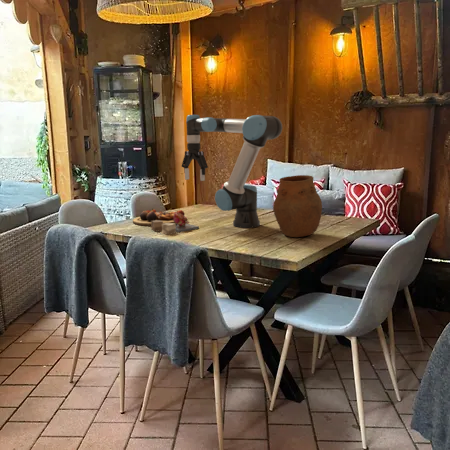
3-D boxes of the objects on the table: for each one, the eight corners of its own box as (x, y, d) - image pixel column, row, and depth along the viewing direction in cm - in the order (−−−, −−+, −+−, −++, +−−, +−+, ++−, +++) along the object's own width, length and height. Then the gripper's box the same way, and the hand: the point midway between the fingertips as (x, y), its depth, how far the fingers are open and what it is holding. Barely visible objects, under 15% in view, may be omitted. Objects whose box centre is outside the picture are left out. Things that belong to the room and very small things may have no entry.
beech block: (175, 233, 228) (175, 223, 227) (169, 234, 224) (168, 225, 223) (168, 231, 231) (168, 222, 230) (162, 233, 227) (161, 224, 226)
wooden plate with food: (196, 219, 268) (195, 206, 267) (168, 228, 240) (167, 213, 238) (153, 216, 282) (152, 204, 280) (121, 225, 253) (121, 211, 252)
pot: (262, 234, 222) (263, 176, 216) (295, 228, 236) (296, 173, 230) (297, 243, 203) (299, 179, 197) (330, 235, 217) (333, 176, 211)
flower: (171, 225, 232) (179, 213, 231) (166, 219, 239) (174, 207, 239) (184, 233, 237) (193, 222, 236) (179, 227, 245) (187, 216, 244)
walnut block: (163, 230, 234) (162, 221, 233) (154, 231, 232) (154, 222, 231) (160, 228, 239) (159, 220, 238) (151, 229, 237) (151, 220, 236)
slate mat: (198, 228, 238) (198, 226, 238) (178, 232, 229) (178, 230, 229) (183, 225, 248) (183, 223, 248) (163, 228, 239) (163, 226, 239)
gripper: (213, 142, 241) (214, 180, 245) (184, 142, 258) (185, 178, 262) (203, 142, 235) (204, 181, 239) (174, 143, 253) (176, 179, 257)
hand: (194, 180), depth 251 cm, fingers open, 13 cm apart
